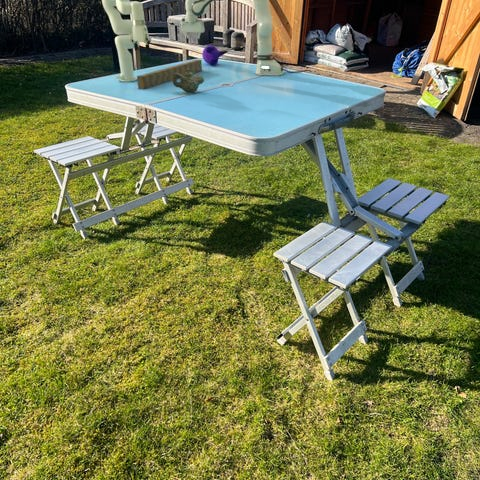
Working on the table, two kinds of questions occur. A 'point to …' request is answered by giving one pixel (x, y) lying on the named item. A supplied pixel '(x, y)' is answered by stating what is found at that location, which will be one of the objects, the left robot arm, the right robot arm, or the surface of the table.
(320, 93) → the table surface
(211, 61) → the toy
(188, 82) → the teapot
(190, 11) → the right robot arm
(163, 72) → the bar
